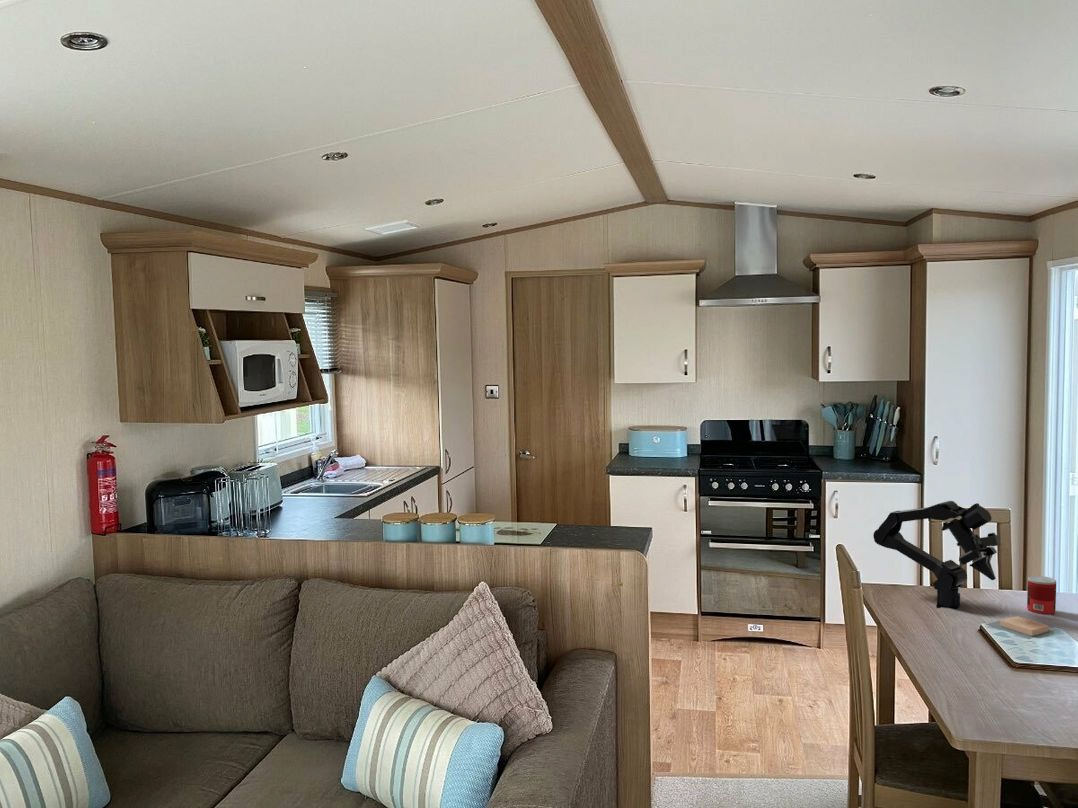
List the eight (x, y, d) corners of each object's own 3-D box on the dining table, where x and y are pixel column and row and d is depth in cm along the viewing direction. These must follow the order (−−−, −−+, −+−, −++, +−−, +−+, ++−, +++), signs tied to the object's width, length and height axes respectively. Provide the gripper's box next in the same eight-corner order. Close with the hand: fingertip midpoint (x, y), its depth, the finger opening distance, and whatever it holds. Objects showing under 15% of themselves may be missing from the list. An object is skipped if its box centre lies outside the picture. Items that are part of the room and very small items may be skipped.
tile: (1000, 620, 259) (1031, 630, 250) (1016, 616, 263) (1048, 625, 254) (1000, 626, 259) (1031, 636, 250) (1016, 622, 263) (1048, 632, 254)
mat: (985, 625, 262) (985, 624, 262) (1010, 619, 267) (1010, 617, 267) (1028, 640, 249) (1028, 638, 249) (1053, 633, 254) (1054, 631, 254)
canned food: (1060, 615, 269) (1061, 582, 268) (1035, 616, 269) (1036, 582, 268) (1046, 608, 277) (1047, 575, 276) (1022, 608, 277) (1023, 575, 276)
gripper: (977, 525, 263) (1008, 570, 256) (995, 522, 276) (1025, 565, 269) (946, 542, 269) (975, 587, 262) (966, 539, 282) (994, 581, 276)
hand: (994, 579), depth 267 cm, fingers closed
